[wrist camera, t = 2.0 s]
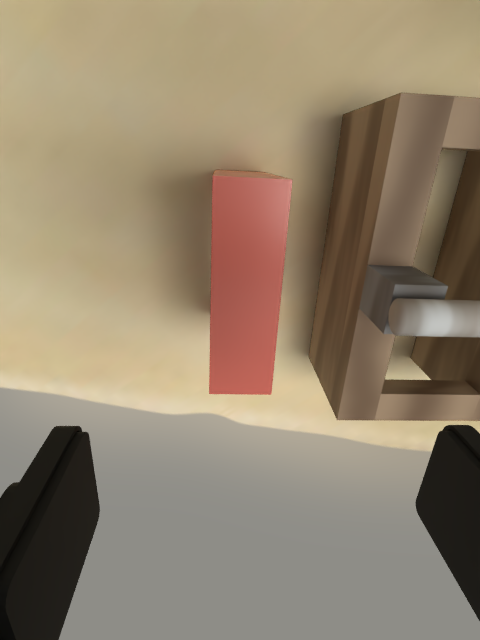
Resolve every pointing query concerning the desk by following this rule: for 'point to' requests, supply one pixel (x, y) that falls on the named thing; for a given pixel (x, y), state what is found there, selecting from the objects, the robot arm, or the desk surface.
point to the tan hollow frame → (400, 265)
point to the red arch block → (246, 278)
